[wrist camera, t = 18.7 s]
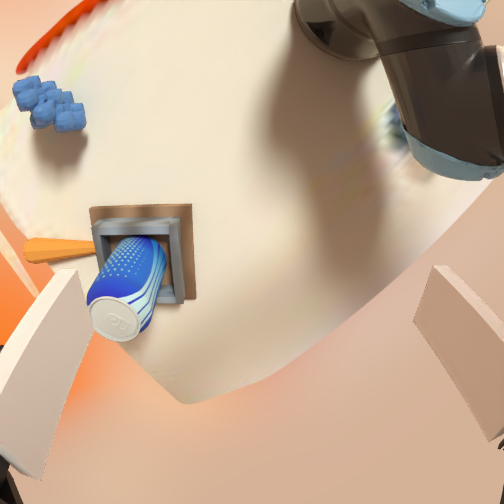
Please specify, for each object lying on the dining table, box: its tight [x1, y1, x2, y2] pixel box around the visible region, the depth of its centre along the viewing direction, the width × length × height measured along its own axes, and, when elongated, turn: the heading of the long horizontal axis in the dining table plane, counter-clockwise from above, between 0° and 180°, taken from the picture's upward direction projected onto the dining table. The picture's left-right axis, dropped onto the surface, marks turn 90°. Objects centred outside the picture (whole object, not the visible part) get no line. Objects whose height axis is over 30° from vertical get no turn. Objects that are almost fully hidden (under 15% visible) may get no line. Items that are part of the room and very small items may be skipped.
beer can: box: [87, 234, 167, 342], centre depth 39 cm, size 8×8×16 cm
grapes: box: [12, 76, 86, 133], centre depth 30 cm, size 12×7×12 cm, turn 42°
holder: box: [89, 204, 196, 304], centre depth 45 cm, size 16×16×4 cm
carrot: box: [24, 238, 96, 264], centre depth 45 cm, size 20×4×4 cm, turn 87°
